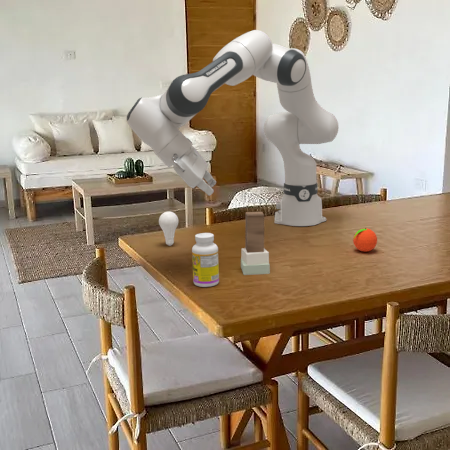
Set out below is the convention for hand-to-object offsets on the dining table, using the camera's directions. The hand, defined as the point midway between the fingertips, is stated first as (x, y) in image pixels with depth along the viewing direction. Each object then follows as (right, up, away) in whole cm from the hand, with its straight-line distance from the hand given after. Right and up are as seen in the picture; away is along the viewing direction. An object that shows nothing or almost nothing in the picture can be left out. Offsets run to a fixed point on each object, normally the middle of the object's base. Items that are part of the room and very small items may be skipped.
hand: (213, 189), depth 158 cm
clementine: (+44, -18, +18) cm, 51 cm away
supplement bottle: (-2, -25, -6) cm, 25 cm away
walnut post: (+11, -16, +3) cm, 20 cm away
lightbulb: (-14, -16, +30) cm, 37 cm away
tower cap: (+11, -19, +3) cm, 23 cm away
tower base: (+11, -22, +4) cm, 25 cm away
